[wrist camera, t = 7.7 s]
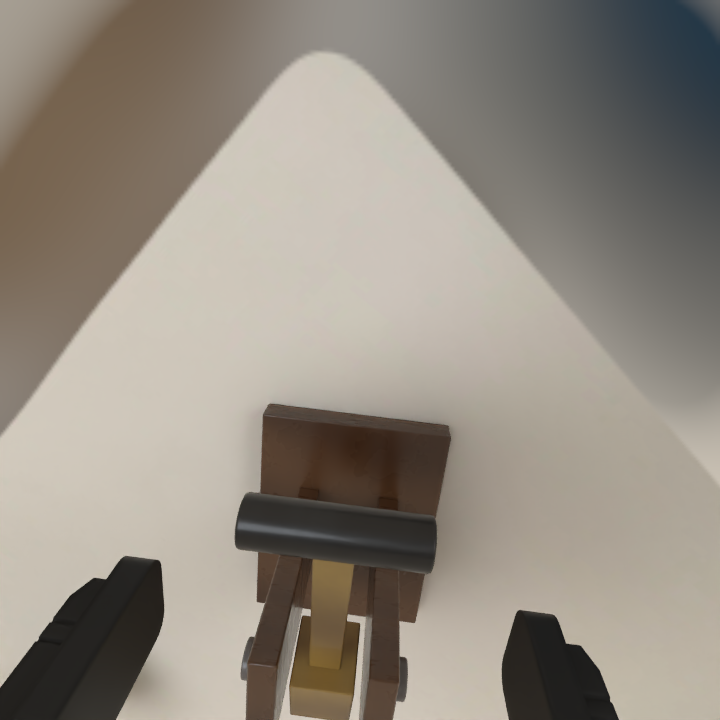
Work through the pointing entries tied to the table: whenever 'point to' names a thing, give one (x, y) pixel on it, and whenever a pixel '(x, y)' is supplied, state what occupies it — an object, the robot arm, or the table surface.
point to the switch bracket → (369, 584)
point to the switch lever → (332, 581)
